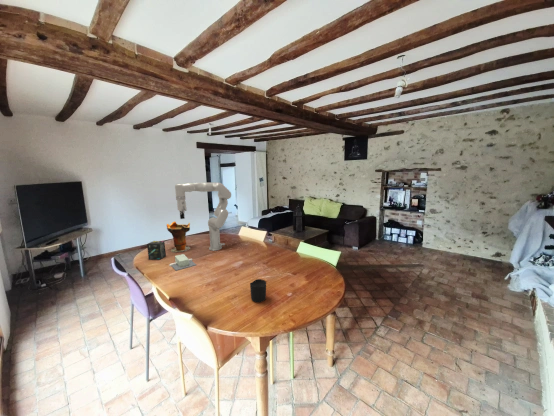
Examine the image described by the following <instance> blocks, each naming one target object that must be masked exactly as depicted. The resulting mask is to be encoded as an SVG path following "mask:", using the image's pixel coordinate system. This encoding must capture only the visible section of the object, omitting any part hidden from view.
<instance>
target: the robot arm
mask: <svg viewBox="0 0 554 416" xmlns="http://www.w3.org/2000/svg"><path fill="white" fill-rule="evenodd" d="M174 189H175V200H176V202H177V204H176V205H177V211H178V212H179V219H180V220H184V219H186V217H185V212H186V211H187V210H188V209H187V203H186V192H189V193H191V192H201V193H206V192H217V197H218V200H219V202H218V203H217V206H216V208H215V210H214V212H213V213H214V216H215V217H210V218H209V219H208V221H207V225H208V229H209V247H208V250H209V251H214V252H215V251H220V250H221V249H223V246H225V243H224V242H221V235H220V234H221V233H220V229H221V228H223V226H224V224H225V223H226V220H227V219H228V217H229V211H228V210H227V208H228V204H229V203H228V200H229V199H231V197H232V192H231V191H230V189H228V188H227V187H226V186H225V185H224V184H223V183H221V182H185V183H176V184H175V185H174Z"/></svg>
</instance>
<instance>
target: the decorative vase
mask: <svg viewBox="0 0 554 416" xmlns="http://www.w3.org/2000/svg"><path fill="white" fill-rule="evenodd" d="M190 225H191V223H190V222H188V224H183V223H182V224H180V223H177V221H172V222H171V224H169V223H166V230H167V231H168V232H169V233H170V234H171V235H172V239H173V246H174V247H173V248H172V249H170V252H172V253H181V252H182V253H183V252H187V251H188V250H191V247H190V246H187V239H186V236H187V233H188V232H190V230H191V226H190Z"/></svg>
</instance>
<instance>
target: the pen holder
mask: <svg viewBox="0 0 554 416" xmlns="http://www.w3.org/2000/svg"><path fill="white" fill-rule="evenodd" d="M249 284H250V285H249V286H250V287H249V288H250V300H251V301H252V302H253V303H263V302H264V301H265V300H266V299H267V281H266V280H265V279H260V278H258V279H255V280H253V281H252V282H250V283H249Z"/></svg>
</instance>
